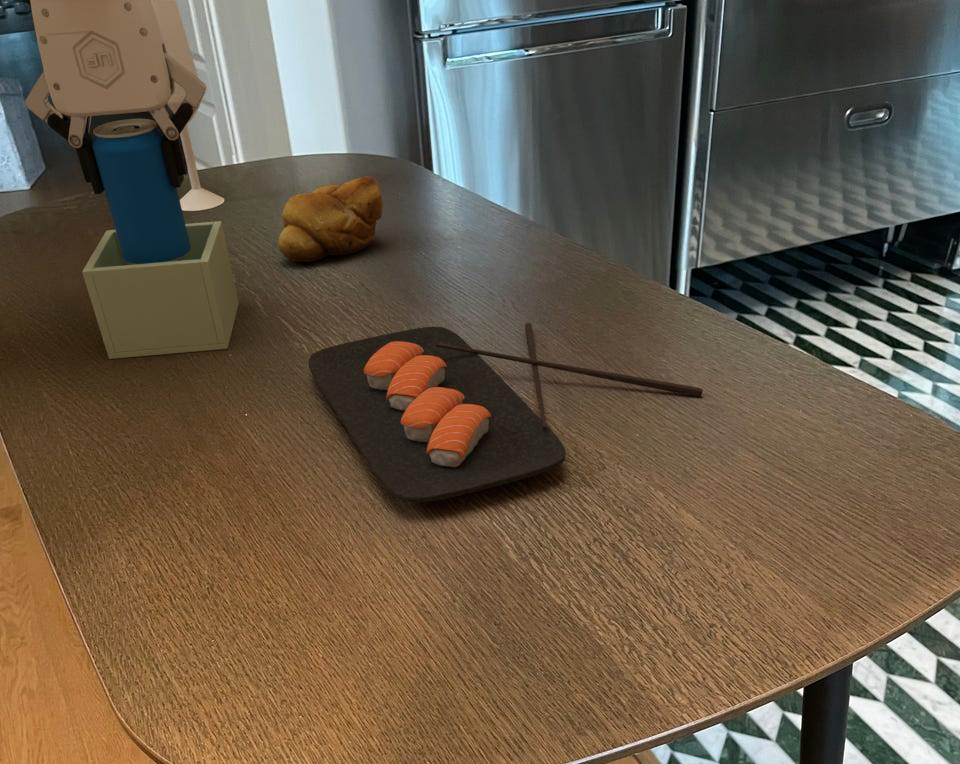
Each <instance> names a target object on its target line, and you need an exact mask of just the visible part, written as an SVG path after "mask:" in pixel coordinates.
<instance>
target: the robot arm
mask: <svg viewBox="0 0 960 764" xmlns="http://www.w3.org/2000/svg"><path fill="white" fill-rule="evenodd" d="M29 1H30V8H31V14H32V15H31V16H32V21H33V25H34V31H35V36H36V41H37V46H38V51H39V55H40V59H41V63H42V68H43V70H42V73H41V74H40V76H39V77H38V78H37V81H36V82H35V84H34V85H33V87H32V89H31V90H30V92H29V93H28V95H27V97H26V98H25V101H24V105H25V107H26V108H27V109H28V110H29V111H30V112H32V113H33V114H34V115H35V116H36V117H38V118H39V119H40V120H41V121H43V122H45V123H46V124H47V125H48V127H49V128H50V129H52V130H53V131H54V132H56V133H57V134H58V135H60V136H61V137H62V138H64V139H65V140H66V141H67V142H68V143H69V145H70V146H71V147H72V148H74V149H75V150H76V155H77V157H78V160H79V165H80V168H81V171H82V175H83V178H84V180H85V182H86V183H87V184H91V187H92V190H93V193H94V195H101V194H102V193H104V192H105V191H104V187H103V184H102V180H101V177H100V173H99V170H98V166H97V162H96V159H95V155H94V152H93V148H92V144H93V141H94V138H93V137H92V134H91V133H90V129H91V122H92V117H96V116H108V115H120V114H121V115H123V114H132V113H133V114H135V113H142V112H143V113H144V112H149V114H150V115H151V117H152V118H153V119H154V121H155V122H156V124H157V126H158V127H159V128H160V130H161V131H162V134H163V137H164V140H163V141H162V149H163V153H164V157H165V161H166V165H167V169H168V174H169V178H170V182H171V186H174V188H177V189H178V188H181V187H182V184H183V183H184V180H185V176H186V175H188V174H189V173H188V167H187V162H186V158H185V154H184V149H183V145H182V140H181V136H180V133H181V132H182V130H183V129H184V127H185V126H186V124H187V125H188V123H189V122H188V121H189V119H190V118H191V116H192V114H193V113H194V111H195V109H196V108H197V106H198V104H199V103H200V101H201V99H202V100H203V98H204V96H205V94H206V92H207V84H205V82H204V81H202V80H201V79H200V78H199V77H198V78H199V79H198V78H197V77H196V76H194V75H193V74H192V73H191V72H189V71H188V70H187V69H186V68H184V67H183V66H182V65H181V64H179V63H178V62H177V61H176V60H174V59H173V58H172V57H170V56H169V55H168V53H167V50H166V46H165V43H164V40H163V36H162V33H161V30H160V26H159V23H158V20H157V17H156V14H155V11H154V8H153V5H152V2H151V0H29ZM174 81H175V82H176V83H177V84H178V85H180V86H181V87H182V88H183V89H184V90H185V92H186V96H185V98H184V100H183V102H182V103H181V105H180V106H179V108H178V110H177V111H176V113H175V112H174V111H173V109H172V108H171V106H170V105H169V103H168V100H169V99H170V96H171V95H172V94H173V93H174V89H175V85H174ZM49 96H50V98H51V101H52V104H53V105H52V104H51V103H50V102H49ZM201 102H202V101H201ZM187 122H188V123H187ZM184 175H185V176H184Z"/></svg>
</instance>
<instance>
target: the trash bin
mask: <svg viewBox="0 0 960 764" xmlns="http://www.w3.org/2000/svg"><path fill="white" fill-rule="evenodd" d="M185 225H186V229H187V234H188V238H189V242H190V246H191V250H190V252H189V253H188V254H187V255H185V259H184V260H183V261H172V262H160V263H148V264H136V265H133V264H131V263H128V262H126V261H125V260H124V258H123V255H122V251H121V248H120V244H119V241H118V237H117V233H116V230H115V229H106V231H105V232H104V234H103V235H102V238H101V239H100V241H99V242H98V244H97V245H96V247H95V249H94V251H93V252H92V254H91V256H90V257H89V260H88V261H87V262H86V264H85V266H84V267H83V270H82V271H81V273H82V277H83V280H84V283H85V286H86V290H87V293H88V295H89V299H90V302H91V305H92V308H93V311H94V315H95V318H96V323H97V325H98V328H99V332H100V334H101V337H102V341H103V344H104V348H105V350H106V353H107V356H108V359H109V360H113V359H115V360H116V359H126V358H138V357H149V356H150V357H151V356H161V355H172V354H183V353H194V352H195V353H196V352H197V353H198V352H206V351H207V352H208V351H219V350H228V348H229V345H230V341H231V338H232V337H231V336H232V333H233V329H234V325H235V320H236V317H237V312H238V309H239V305H240V302H239V298H238V293H237V288H236V284H235V283H236V282H235V278H234V274H233V269H232V265H231V264H232V263H231V259H230V255H229V251H228V246H227V241H226V237H225V232H224V227H223V221H221V220H217V221H205V222H192V223H185Z"/></svg>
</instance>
